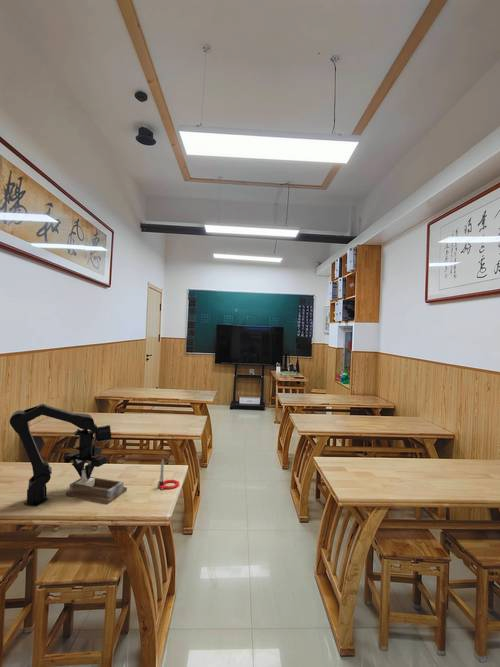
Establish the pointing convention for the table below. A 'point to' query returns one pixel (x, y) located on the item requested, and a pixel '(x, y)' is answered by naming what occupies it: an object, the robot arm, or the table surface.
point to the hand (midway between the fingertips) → (85, 478)
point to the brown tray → (97, 490)
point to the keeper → (86, 480)
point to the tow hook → (166, 480)
